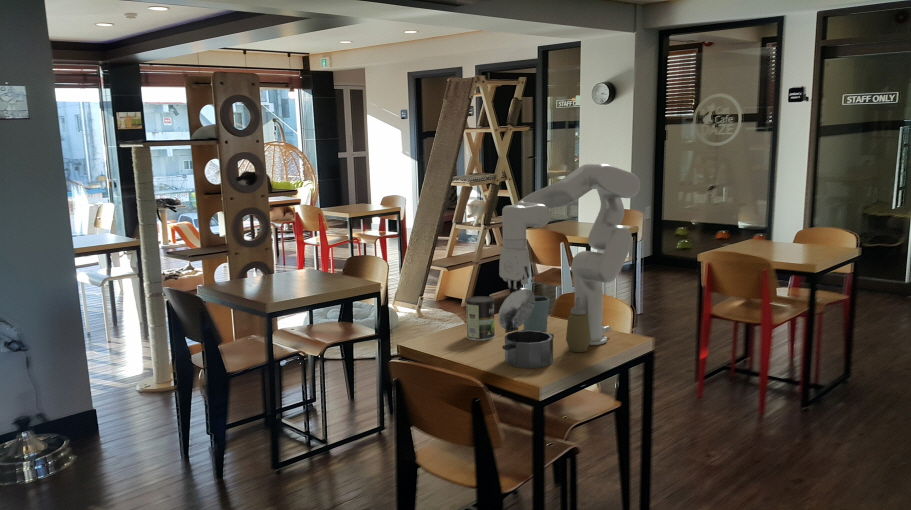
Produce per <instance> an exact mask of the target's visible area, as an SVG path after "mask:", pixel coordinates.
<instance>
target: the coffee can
mask: <svg viewBox="0 0 911 510" xmlns="http://www.w3.org/2000/svg"><path fill="white" fill-rule="evenodd" d="M465 306H466V307H465V312H466V313H465V315H466V339H468V340H469V341H470V340H471V341H477V342H478V341H479V342H483V341H490V340H493V339H494V338H495V337H496V335H495V298H494V297H493V296H485V295H484V296H483V295H481V296H480V295H477V296H476V295H475V296H470V297H466V298H465Z"/></svg>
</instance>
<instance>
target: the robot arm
mask: <svg viewBox="0 0 911 510" xmlns="http://www.w3.org/2000/svg"><path fill="white" fill-rule="evenodd" d="M640 189H641V181H640V179H639V177H638V176H637V175H636V174H635V173H633V172H631V171H627V170H626V169H622V168H618V167H616V166H614V165H611V164H606V163H586V164H582V165H581V166H579V167H578V168H576V169H575V170H573V171H572V172H570V173H568V175H566V176H565V177H562V179H560V180H558V181H556V182H555V183H553V184H549V185H547V186H545V187H543V188H539V189H538V190H536V191H533V192H531V193H529V194H527V195H526V196H525V197H523V198H521V199H520V200H519V201H518V202H516V203H515V204H511V205H510V204H509V205H505V206H503V208H502V209H501V210H502V212H501V214H502V215H501V216H502V218H501V219H502V220H501V221H502V222H501V224H502V247H501V249H500V254H499V263H498V264H499V267H498V269H499V270H498V271H499V273H498V275H499V277H500V278H502V280H503V281H504V282H506V283H507V284H508V285H507V287H508V288H509V292H510V293H509V295H510V294H511V293H512V292H514V291H515V290H517V289H520V288H523V285H528V284H529V278H530V273H531V272H530V271H531V268H530V267H531V266H530V257H529V250H528V248H527V228H529V227H530V228H532V227H533V228H541V227H545V226H546V225H548V223H550V220H551V218H552V212H551V209H553V208H554V209H555V208H559V207H560V208H561V207H566V206H569V205H572V204H574V203H575V202H576V201H577V200H580V198H582V197H584V196H585V195H586V194H588V193H589V192H591V191H592V190H596V191H597V193H598V196H599V201H600V208H599V211H598V214H597V216H596V219H595V220H594V223H593V224H592V227H591V229H590V232H589V234H588V238H587V244H588V245H589V246H590V248H592V249H593V250H596V251H591V250H583V251H579V252H577V253H576V254H575V255H574V256H573V258H572V262H571V270H572V276H573V282H574V303H575V302H576V298H577V297H579V298H580V300H581V305H582V307H583V308H585V314H586V315H587V316H588V320H589V330H590V343H589V346H598V345H604V344H605V343H607V342H608V337H607V335H605V334H606V332H607V333H608V332H610V331H611V326H610V325H607V326H606V325H605V326H604V325H603V315H604V314H603V313H604V312H603V311H604V310H603V307H604V305H603V304H604V302H603V300H604V298H603V297H604V295H603V294H604V290H603V286H602V283H603V284H604V283H606V284H608V283H611V282H613V281H614V280H616V279H617V277H618V276H619V275H620V272H621V270H622V268H623V266H624V264H625V261H626V259H627V257H628V255H629V253H630V250H631V247H632V243H633V236H632V232H631V231H630V229H628V227H626V226H625V225H621V224H622V223H623V220H624V217H625V207H624V204H623V200H622V199H623V198H624V199H632V198H634V197H635V196H637V195H638V193H639V192H640ZM597 251H602V252H597Z"/></svg>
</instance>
